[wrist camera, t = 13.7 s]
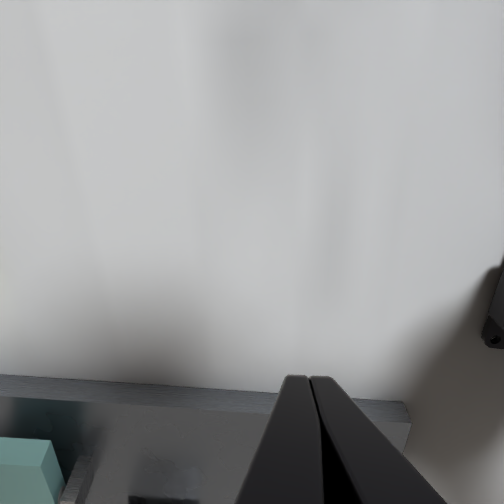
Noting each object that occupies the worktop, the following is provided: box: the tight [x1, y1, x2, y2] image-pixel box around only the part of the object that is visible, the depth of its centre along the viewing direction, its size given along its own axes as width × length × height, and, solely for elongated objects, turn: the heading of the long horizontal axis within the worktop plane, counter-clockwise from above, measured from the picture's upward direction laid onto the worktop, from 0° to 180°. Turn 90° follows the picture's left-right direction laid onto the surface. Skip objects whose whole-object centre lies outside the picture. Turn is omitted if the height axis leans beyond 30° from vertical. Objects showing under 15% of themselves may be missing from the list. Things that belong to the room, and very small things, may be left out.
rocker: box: [0, 437, 66, 504], centre depth 22 cm, size 4×8×1 cm, turn 175°
